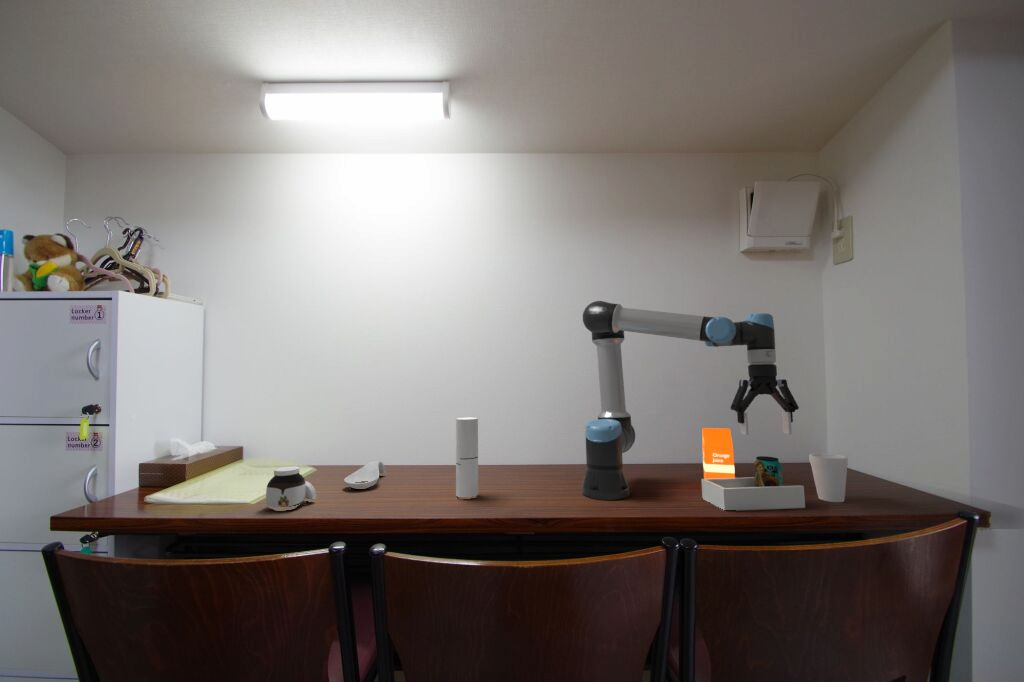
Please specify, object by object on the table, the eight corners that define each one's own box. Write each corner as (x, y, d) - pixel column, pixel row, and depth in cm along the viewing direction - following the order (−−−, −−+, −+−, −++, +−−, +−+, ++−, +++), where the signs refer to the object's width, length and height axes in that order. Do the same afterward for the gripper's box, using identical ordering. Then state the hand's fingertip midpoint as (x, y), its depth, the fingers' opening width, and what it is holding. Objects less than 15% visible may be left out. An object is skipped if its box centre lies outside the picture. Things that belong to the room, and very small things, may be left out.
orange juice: (704, 484, 147) (701, 426, 148) (732, 486, 144) (728, 427, 146) (706, 490, 139) (703, 429, 141) (736, 492, 136) (732, 430, 138)
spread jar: (261, 512, 122) (262, 471, 123) (282, 501, 133) (284, 463, 134) (302, 512, 122) (303, 471, 123) (320, 500, 133) (321, 463, 134)
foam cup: (841, 496, 131) (838, 453, 132) (857, 504, 122) (853, 459, 123) (806, 494, 133) (803, 452, 134) (819, 502, 124) (816, 457, 125)
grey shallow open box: (724, 510, 118) (723, 489, 118) (702, 498, 130) (701, 478, 130) (805, 507, 120) (803, 486, 120) (775, 496, 131) (774, 476, 132)
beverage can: (751, 498, 126) (749, 457, 127) (763, 494, 130) (760, 455, 131) (776, 503, 120) (774, 461, 121) (788, 499, 124) (785, 458, 125)
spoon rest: (371, 493, 142) (371, 471, 142) (337, 493, 142) (338, 471, 143) (394, 476, 165) (394, 458, 166) (365, 476, 166) (365, 458, 167)
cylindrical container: (472, 500, 131) (472, 419, 133) (452, 498, 133) (452, 419, 135) (481, 494, 138) (481, 417, 140) (462, 492, 140) (461, 417, 142)
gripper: (730, 363, 124) (734, 436, 122) (809, 363, 126) (814, 434, 124) (716, 364, 132) (719, 433, 130) (791, 364, 133) (795, 431, 132)
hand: (766, 434), depth 127 cm, fingers open, 13 cm apart
